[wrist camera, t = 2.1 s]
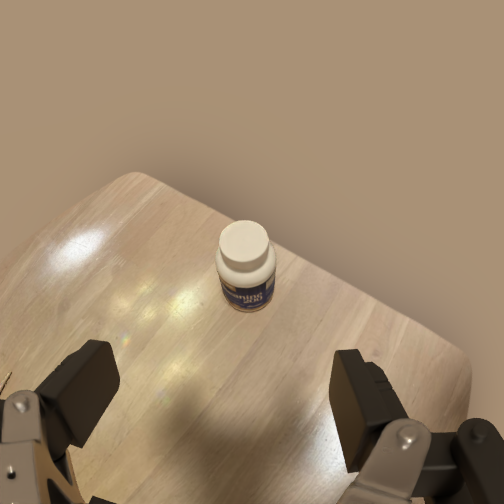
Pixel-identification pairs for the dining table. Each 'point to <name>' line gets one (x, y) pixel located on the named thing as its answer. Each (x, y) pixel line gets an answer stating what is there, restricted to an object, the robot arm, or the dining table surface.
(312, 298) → the dining table surface
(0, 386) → the jawbone
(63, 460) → the robot arm
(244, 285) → the pill bottle
